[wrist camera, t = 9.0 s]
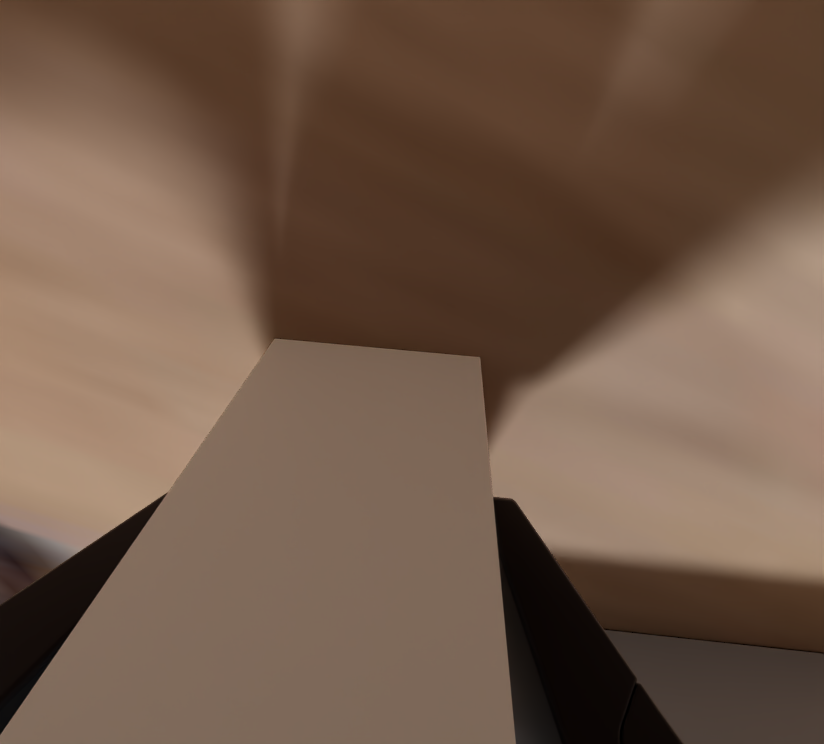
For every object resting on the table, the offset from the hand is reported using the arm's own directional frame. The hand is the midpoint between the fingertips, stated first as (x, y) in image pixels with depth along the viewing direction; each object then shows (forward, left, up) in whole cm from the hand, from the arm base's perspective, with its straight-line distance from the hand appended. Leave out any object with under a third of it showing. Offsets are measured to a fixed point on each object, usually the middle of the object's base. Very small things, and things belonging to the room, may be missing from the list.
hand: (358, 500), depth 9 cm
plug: (0, 0, -2) cm, 2 cm away
